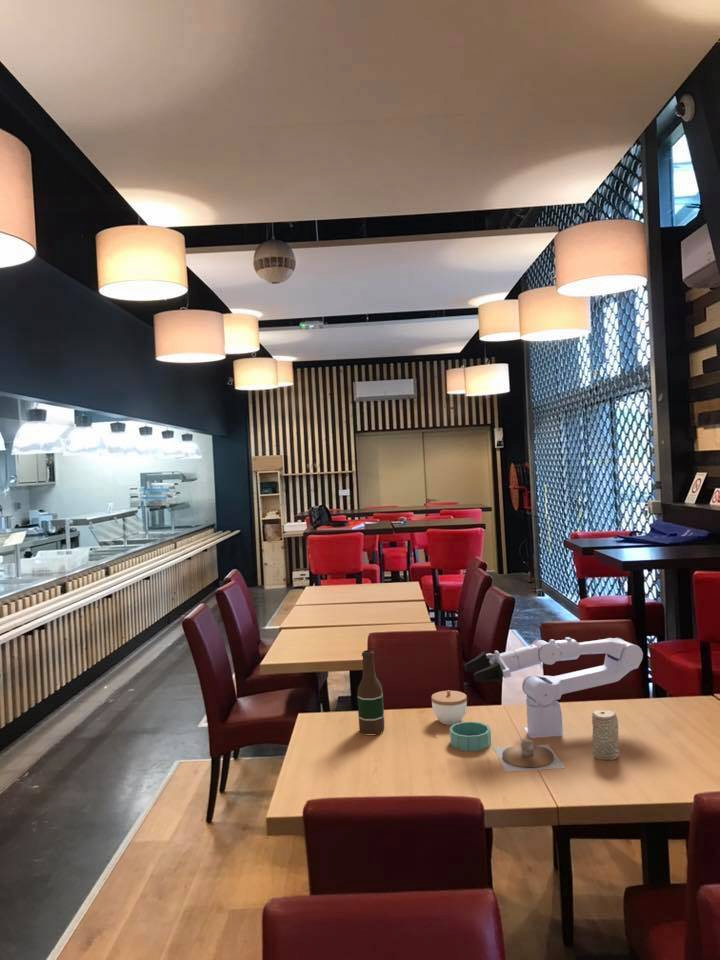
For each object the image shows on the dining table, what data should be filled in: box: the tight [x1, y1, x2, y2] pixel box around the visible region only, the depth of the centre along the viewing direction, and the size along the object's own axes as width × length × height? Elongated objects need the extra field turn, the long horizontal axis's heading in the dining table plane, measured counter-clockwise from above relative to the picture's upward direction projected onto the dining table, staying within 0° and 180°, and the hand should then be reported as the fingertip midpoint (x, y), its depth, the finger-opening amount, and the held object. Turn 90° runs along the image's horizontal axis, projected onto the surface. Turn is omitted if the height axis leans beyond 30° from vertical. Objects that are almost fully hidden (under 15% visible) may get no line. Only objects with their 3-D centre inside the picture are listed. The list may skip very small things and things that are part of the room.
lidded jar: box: [430, 689, 468, 726], centre depth 217 cm, size 11×11×9 cm
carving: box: [591, 709, 620, 761], centre depth 184 cm, size 6×8×12 cm
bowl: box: [448, 721, 492, 752], centre depth 198 cm, size 11×11×4 cm
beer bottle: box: [356, 649, 385, 735], centre depth 212 cm, size 8×8×24 cm
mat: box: [493, 744, 566, 773], centre depth 186 cm, size 15×15×1 cm
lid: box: [502, 738, 554, 768], centre depth 186 cm, size 13×13×4 cm
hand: (469, 672), depth 199 cm, fingers open, 7 cm apart
